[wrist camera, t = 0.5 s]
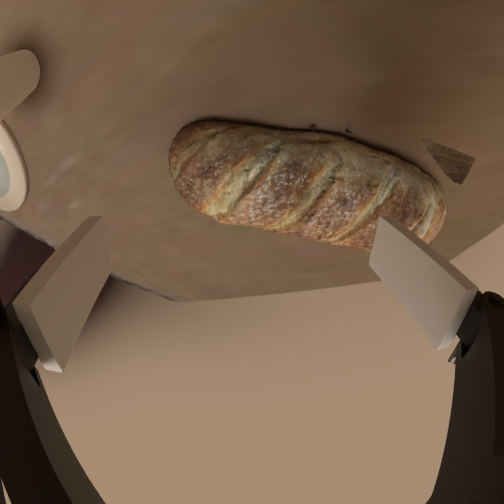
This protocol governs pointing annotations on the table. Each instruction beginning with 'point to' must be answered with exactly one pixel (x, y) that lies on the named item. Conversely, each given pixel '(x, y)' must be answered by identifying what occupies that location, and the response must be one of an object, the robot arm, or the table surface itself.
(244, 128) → the bread loaf
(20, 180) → the plate
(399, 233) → the robot arm
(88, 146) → the table surface
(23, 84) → the foam cup
